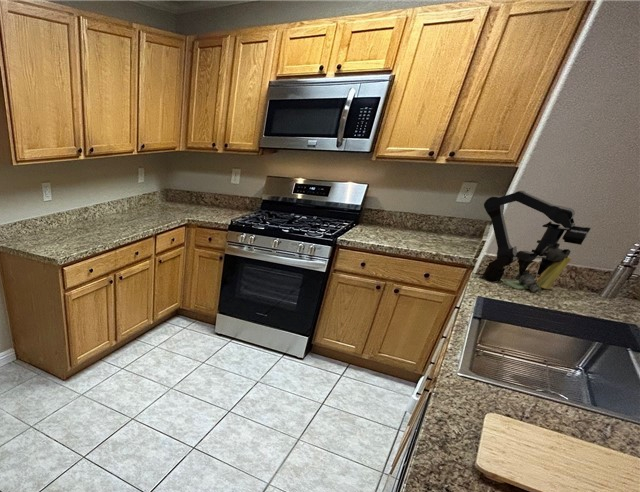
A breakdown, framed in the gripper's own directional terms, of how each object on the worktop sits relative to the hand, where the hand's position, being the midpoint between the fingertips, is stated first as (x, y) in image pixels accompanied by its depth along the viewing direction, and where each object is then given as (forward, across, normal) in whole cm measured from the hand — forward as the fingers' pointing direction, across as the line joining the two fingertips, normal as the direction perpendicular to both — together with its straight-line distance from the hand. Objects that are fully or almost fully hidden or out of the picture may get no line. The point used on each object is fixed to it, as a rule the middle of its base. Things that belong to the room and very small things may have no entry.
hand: (529, 274), depth 187 cm
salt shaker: (+1, 0, +3) cm, 3 cm away
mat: (+6, 0, +2) cm, 6 cm away
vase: (+6, +9, -1) cm, 11 cm away
